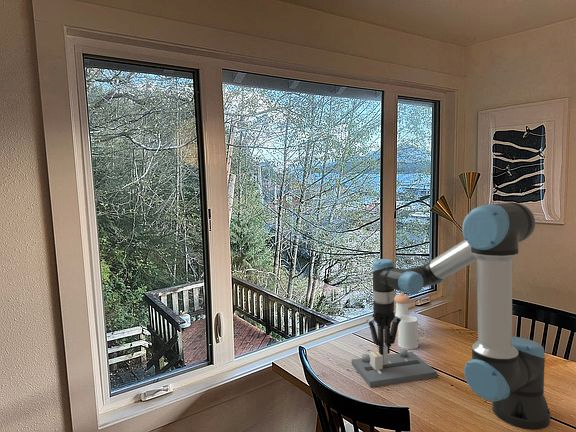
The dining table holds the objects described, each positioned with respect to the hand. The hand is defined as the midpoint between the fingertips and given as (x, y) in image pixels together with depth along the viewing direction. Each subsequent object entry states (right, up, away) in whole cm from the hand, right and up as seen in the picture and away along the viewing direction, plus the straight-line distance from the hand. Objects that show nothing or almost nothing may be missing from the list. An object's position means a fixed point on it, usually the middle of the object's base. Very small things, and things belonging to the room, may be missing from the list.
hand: (384, 362), depth 151 cm
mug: (+17, -1, +22) cm, 28 cm away
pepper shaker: (+17, 0, +36) cm, 40 cm away
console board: (+3, -4, +1) cm, 5 cm away
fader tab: (-3, -2, -1) cm, 4 cm away
